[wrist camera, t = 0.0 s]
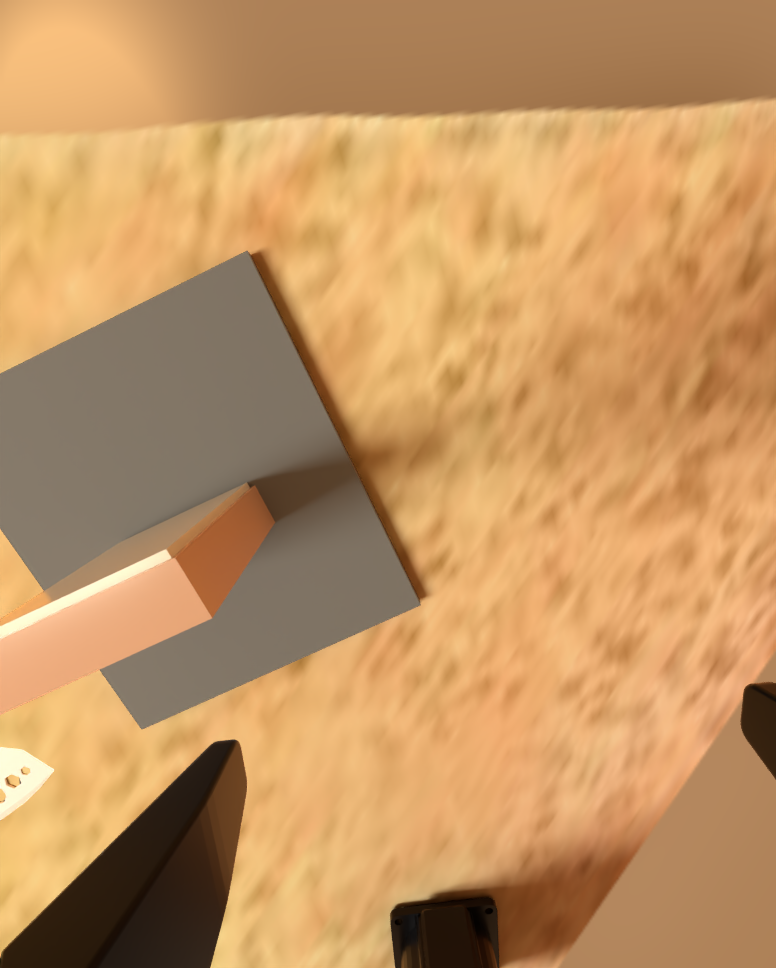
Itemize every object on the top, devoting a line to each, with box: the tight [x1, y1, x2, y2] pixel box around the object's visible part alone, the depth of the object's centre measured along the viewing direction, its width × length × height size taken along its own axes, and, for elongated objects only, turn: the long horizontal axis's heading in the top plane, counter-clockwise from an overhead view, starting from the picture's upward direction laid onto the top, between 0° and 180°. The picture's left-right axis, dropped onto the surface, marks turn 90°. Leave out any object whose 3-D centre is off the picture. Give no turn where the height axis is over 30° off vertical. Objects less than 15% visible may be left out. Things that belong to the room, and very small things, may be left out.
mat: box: [0, 251, 421, 729], centre depth 21 cm, size 18×16×1 cm
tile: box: [0, 483, 275, 715], centre depth 17 cm, size 2×7×9 cm, turn 115°
